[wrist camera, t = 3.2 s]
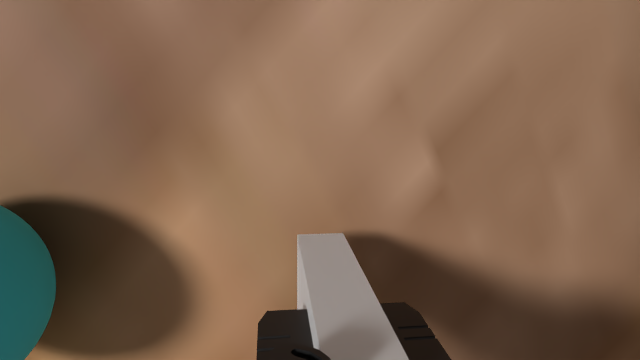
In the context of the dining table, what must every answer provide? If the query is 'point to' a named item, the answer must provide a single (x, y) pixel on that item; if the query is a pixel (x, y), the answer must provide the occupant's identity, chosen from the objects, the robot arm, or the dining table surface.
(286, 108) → the dining table surface
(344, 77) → the dining table surface
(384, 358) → the robot arm
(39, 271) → the ball
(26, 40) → the dining table surface
